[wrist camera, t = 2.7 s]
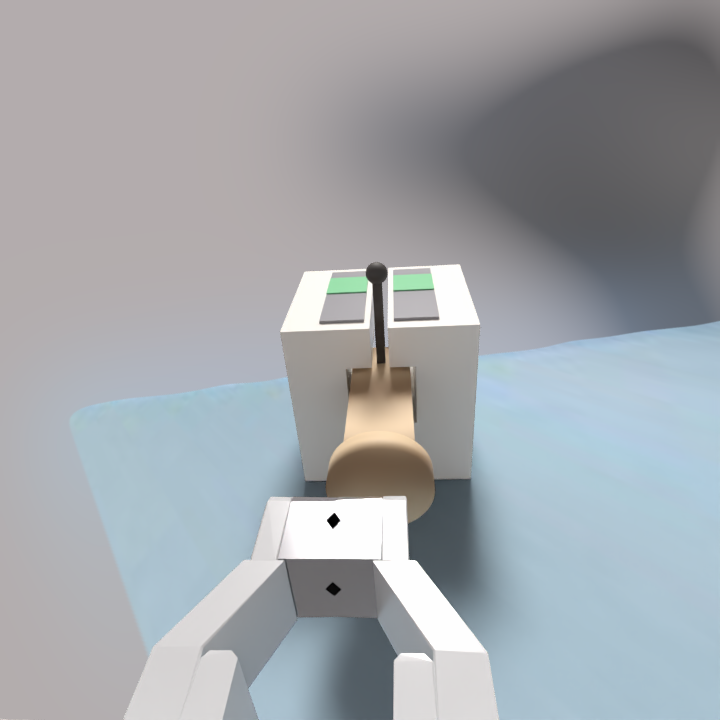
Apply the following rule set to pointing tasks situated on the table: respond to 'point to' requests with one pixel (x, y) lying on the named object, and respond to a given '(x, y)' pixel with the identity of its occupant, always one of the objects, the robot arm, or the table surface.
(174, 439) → the table surface
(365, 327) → the tuner housing
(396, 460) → the peg
